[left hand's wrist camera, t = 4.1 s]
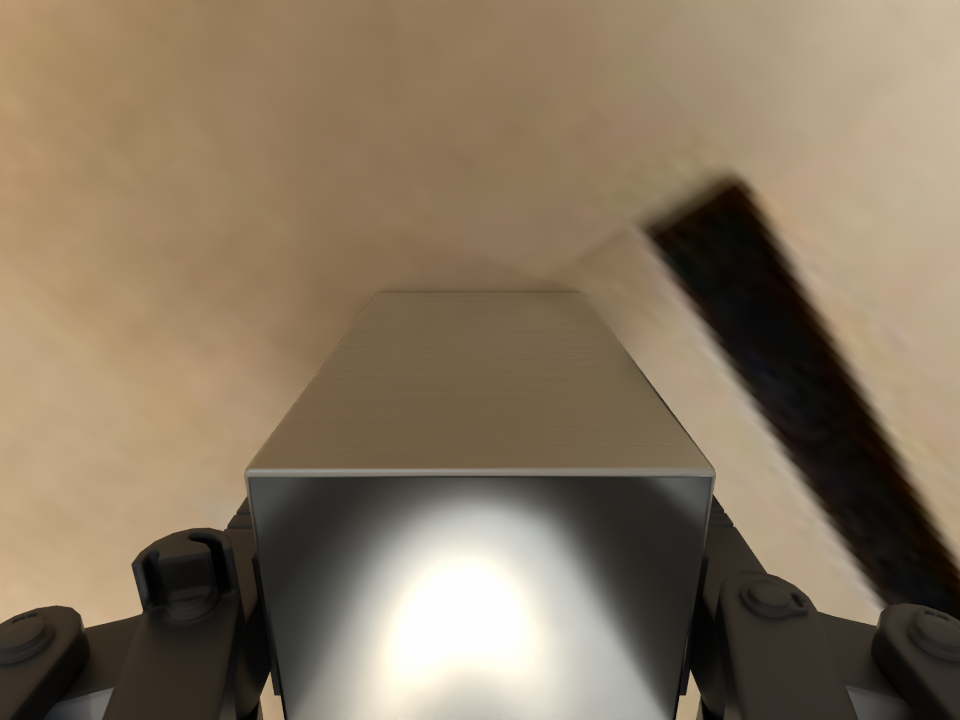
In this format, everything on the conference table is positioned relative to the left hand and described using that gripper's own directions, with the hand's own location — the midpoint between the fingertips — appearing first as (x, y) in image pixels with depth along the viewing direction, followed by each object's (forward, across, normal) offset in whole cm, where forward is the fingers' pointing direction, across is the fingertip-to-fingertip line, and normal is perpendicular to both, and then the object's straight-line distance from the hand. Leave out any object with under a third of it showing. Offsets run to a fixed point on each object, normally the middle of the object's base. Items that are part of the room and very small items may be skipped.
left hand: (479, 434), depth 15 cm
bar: (+1, 0, -7) cm, 7 cm away
